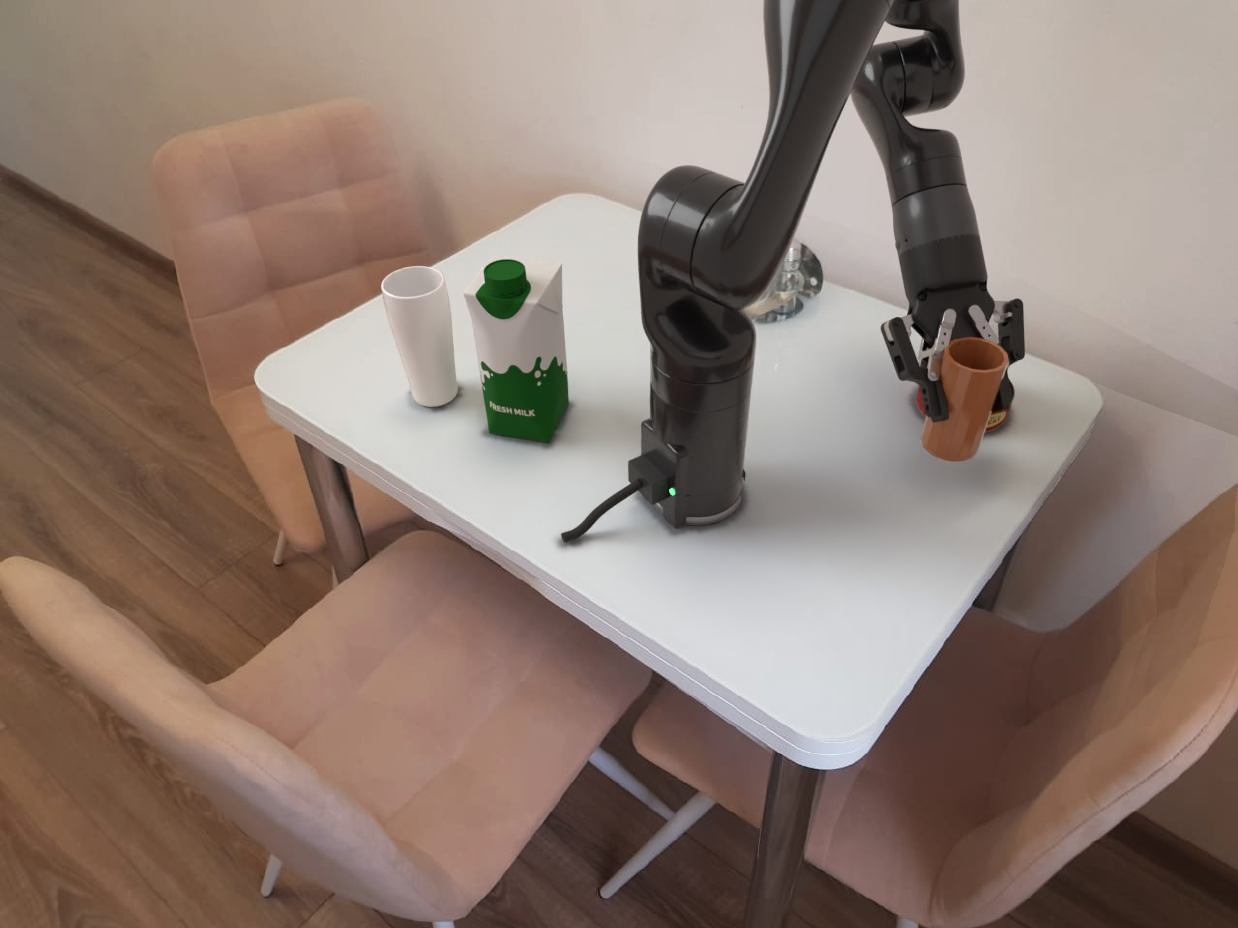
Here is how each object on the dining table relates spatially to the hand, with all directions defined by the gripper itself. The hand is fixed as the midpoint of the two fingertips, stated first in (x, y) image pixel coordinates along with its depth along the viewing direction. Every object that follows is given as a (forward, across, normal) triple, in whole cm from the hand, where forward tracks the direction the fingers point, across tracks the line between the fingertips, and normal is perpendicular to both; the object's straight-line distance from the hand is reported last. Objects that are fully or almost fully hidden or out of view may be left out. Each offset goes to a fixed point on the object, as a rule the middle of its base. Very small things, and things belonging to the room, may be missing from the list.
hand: (970, 415), depth 85 cm
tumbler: (+2, 0, +5) cm, 5 cm away
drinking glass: (-13, -50, +25) cm, 58 cm away
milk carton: (-8, -40, +20) cm, 46 cm away
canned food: (-1, +7, +14) cm, 15 cm away
